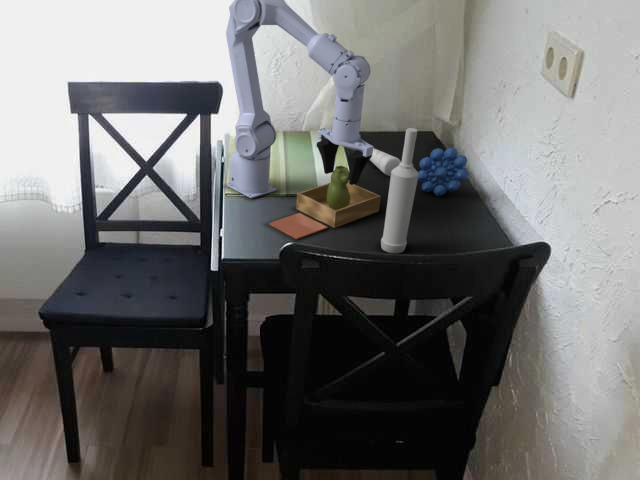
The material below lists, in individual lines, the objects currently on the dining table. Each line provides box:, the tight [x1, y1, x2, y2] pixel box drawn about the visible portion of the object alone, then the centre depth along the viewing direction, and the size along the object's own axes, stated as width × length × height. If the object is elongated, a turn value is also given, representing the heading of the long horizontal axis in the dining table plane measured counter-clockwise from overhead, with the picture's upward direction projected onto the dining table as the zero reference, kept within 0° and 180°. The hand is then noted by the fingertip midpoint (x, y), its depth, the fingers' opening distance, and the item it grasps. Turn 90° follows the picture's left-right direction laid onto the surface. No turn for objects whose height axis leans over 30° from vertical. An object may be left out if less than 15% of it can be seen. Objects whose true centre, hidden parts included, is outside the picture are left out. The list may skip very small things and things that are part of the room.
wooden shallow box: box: [295, 181, 382, 229], centre depth 169 cm, size 12×14×4 cm
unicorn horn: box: [369, 147, 402, 177], centre depth 195 cm, size 5×24×5 cm, turn 10°
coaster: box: [268, 212, 328, 241], centre depth 163 cm, size 9×9×1 cm
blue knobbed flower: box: [417, 147, 469, 197], centre depth 175 cm, size 12×7×12 cm, turn 59°
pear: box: [327, 165, 350, 210], centre depth 167 cm, size 6×5×10 cm
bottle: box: [380, 127, 419, 254], centre depth 148 cm, size 5×5×25 cm
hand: (340, 178), depth 166 cm, fingers open, 7 cm apart
